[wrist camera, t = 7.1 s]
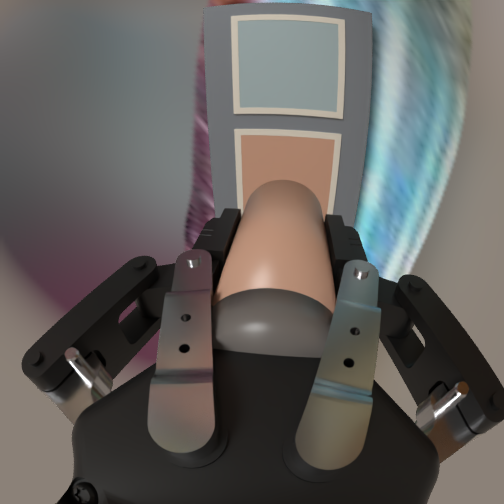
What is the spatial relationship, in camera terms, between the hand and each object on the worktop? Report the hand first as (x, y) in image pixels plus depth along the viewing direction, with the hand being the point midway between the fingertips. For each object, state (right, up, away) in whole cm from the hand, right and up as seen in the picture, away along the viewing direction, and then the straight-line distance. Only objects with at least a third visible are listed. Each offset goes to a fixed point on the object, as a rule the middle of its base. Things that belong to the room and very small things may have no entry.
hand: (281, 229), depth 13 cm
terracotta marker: (0, +1, +1) cm, 1 cm away
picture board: (+1, +7, +3) cm, 8 cm away
